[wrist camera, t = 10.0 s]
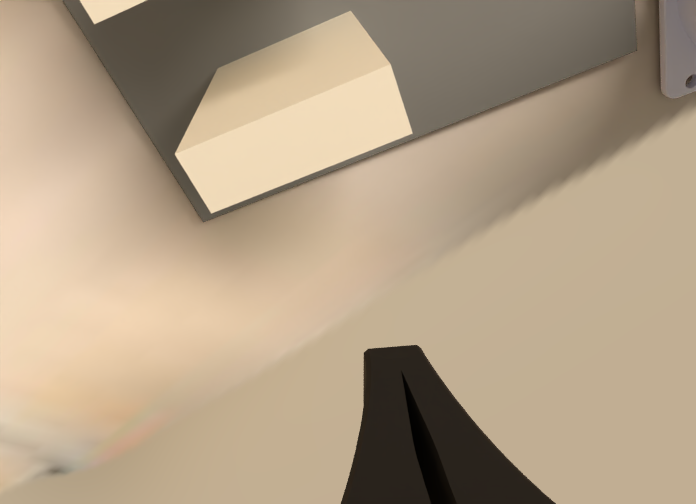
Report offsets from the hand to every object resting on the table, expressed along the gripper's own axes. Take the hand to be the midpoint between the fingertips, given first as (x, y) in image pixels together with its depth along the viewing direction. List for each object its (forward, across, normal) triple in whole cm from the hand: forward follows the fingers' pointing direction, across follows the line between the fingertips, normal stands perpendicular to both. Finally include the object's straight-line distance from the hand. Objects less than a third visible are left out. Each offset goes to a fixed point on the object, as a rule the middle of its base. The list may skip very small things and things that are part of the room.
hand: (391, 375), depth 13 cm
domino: (+10, +2, -6) cm, 11 cm away
